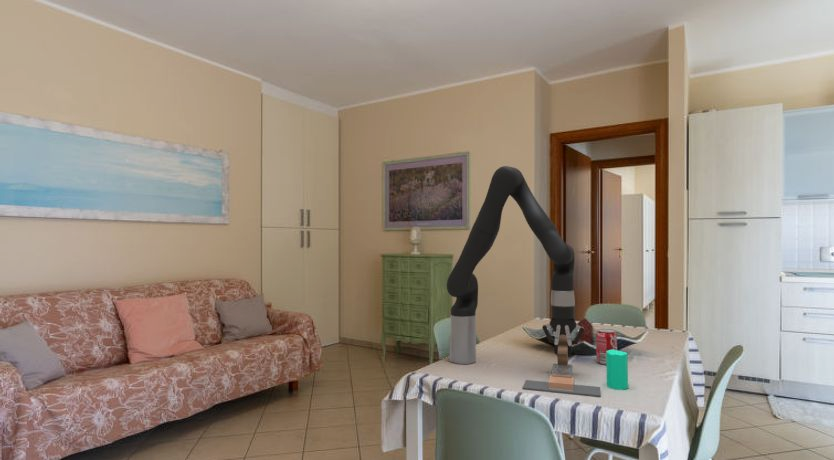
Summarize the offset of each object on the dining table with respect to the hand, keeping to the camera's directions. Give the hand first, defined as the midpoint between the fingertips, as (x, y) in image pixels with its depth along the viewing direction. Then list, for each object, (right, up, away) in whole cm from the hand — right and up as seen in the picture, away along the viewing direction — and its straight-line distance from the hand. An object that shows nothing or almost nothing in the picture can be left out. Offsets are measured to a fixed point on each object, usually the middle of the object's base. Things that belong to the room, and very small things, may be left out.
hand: (563, 356), depth 155 cm
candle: (+13, -7, -11) cm, 18 cm away
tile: (-3, -5, -9) cm, 10 cm away
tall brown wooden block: (-1, -1, -2) cm, 2 cm away
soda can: (+21, -7, +16) cm, 27 cm away
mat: (-5, -6, -13) cm, 16 cm away
